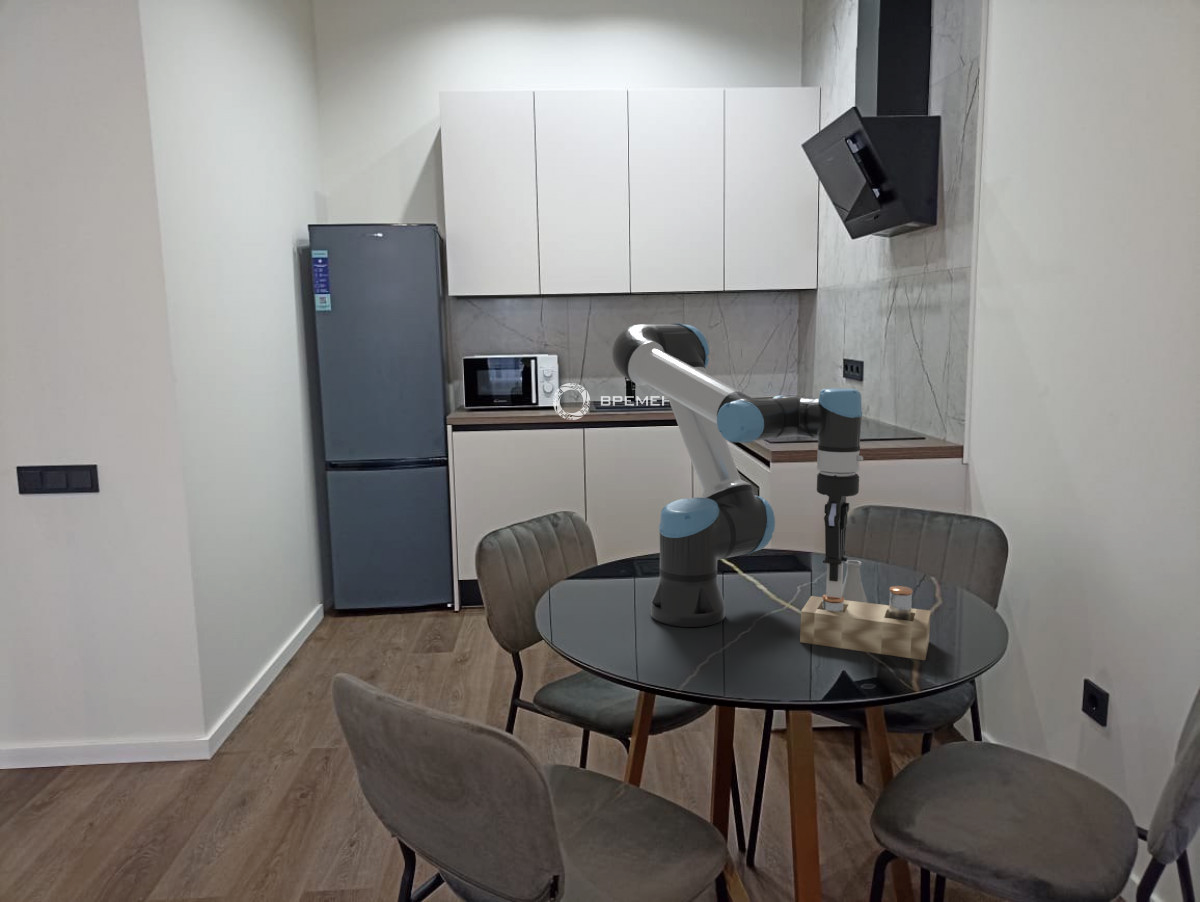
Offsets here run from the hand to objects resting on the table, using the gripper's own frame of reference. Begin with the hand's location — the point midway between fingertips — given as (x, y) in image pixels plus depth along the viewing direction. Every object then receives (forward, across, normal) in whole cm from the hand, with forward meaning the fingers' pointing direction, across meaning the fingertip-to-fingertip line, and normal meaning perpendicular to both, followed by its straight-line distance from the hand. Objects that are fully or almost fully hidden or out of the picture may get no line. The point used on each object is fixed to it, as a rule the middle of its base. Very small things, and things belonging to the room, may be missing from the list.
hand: (834, 596), depth 163 cm
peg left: (+6, 0, 0) cm, 6 cm away
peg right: (+3, 0, -12) cm, 12 cm away
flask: (+8, +19, -1) cm, 21 cm away
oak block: (+8, 0, -6) cm, 10 cm away
